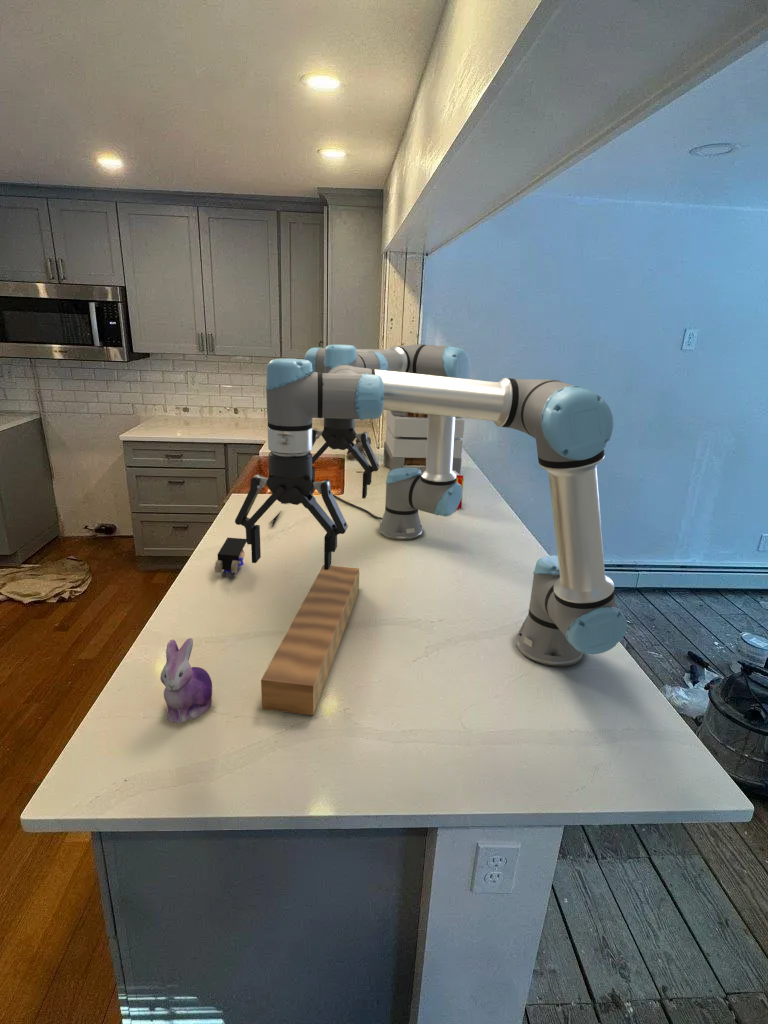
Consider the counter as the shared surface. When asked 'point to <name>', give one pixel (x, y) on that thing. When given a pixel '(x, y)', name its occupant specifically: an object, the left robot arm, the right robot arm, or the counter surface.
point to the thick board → (310, 643)
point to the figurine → (184, 684)
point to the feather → (274, 519)
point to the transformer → (414, 440)
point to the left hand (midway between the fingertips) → (338, 494)
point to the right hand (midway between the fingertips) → (291, 563)
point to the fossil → (359, 447)
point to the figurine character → (230, 556)
